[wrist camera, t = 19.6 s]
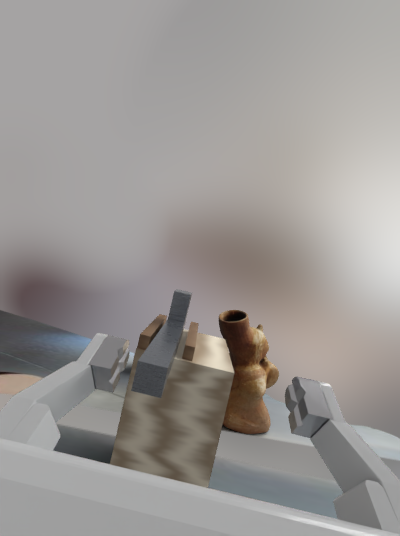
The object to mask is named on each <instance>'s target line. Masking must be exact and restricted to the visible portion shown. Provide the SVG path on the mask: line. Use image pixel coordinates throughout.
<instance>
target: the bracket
mask: <svg viewBox="0 0 400 536" xmlns="http://www.w3.org/2000/svg"><path fill="white" fill-rule="evenodd" d="M191 295H192V293H190V292H186V291H182V290H175V291H174V295H173V300H172V304H171V308H170V313H169V317H168V320H167V321H166V322H165V324H164V325H163V327H162V328H161V329H160V331H159V332H158V334H157V335H156V336H155V338H154V339H153V340H152V342H151V343H150V345H149V346H148V347H147V349H146V350H145V352H144V353H143V354H142V356H141V357H140V359H139V360H138V363H137V367H136V371H135V376H134V380H133V384H132V389H131V391H134V392H138V393H142V394H146V395H150V396H154V397H158V398H161V397H162V394H163V391H164V388H165V385H166V382H167V379H168V376H169V373H170V370H171V367H172V364H173V361H174V358H175V355H176V352H177V349H178V346H179V344H180V341H181V338H182V335H183V330H184V326H185V322H186V317H187V313H188V309H189V304H190V300H191Z"/></svg>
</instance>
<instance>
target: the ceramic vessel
mask: <svg viewBox="0 0 400 536" xmlns="http://www.w3.org/2000/svg"><path fill="white" fill-rule="evenodd" d="M219 326H220V331H221V334H222V336H223V338H224V339H225V340H226V344H227V347H228V349H229V352H230V353H229V355H230V359H231V362H232V366H233V370H234V377H233V382H232V386H231V390H230V394H229V399H228V403H227V407H226V412H225V416H224V420H223V425H224V426H226V427H227V428H229V429H232V430H234V431H237V432H240V433H245V434H256V433H264V432H267V431H268V430H269V427H270V417H269V413H268V410H267V408H266V406H265V404H264V402H263V399H262V396H263V395H264V394H265V391H266V388H269V387H271V386H272V385H274V384H275V383H276V381H277V379H278V376H279V371H278V369H277V368H276V366H275V365H273V364H272V363H271V362H269V361H268V359H267V357H266V353H267V351H268V350H269V346H268V342H267V340H266V338H265V335H264V334H263V327H262V325H258V327H257V328H253V327H250V326H249V319H248V315H247V314H246V313H245V312H243V311H239V310H230V311H225V312H222V313H221V314H220V315H219Z"/></svg>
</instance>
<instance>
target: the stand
mask: <svg viewBox="0 0 400 536" xmlns="http://www.w3.org/2000/svg"><path fill="white" fill-rule="evenodd" d="M166 318H167V316H165V315H161V314H160V315H159V316H158V317H157V318H156V319H155V320H154V321H153V322H152V323H151V324H150V325H149V326H148V327H147V328H146V329H145V330H144V331H143V332H142V333H141V334H140V338H139V342H138V346H137V349H136V352H135V356H134V360H133V365H132V369H131V373H130V378H129V382H128V387H127V391H126V395H125V400H124V404H123V409H122V413H121V417H120V422H119V426H118V431H117V435H116V439H115V444H114V448H113V452H112V457H111V461H110V464H111V465H115V466H119V467H123V468H127V469H131V470H136V471H140V472H144V473H148V474H152V475H156V476H160V477H165V478H169V479H173V480H177V481H181V482H185V483H189V484H194V485H198V486H202V487H206V488H208V485H209V480H210V476H211V472H212V468H213V463H214V459H215V455H216V450H217V446H218V442H219V437H220V433H221V429H222V425H223V420H224V416H225V412H226V407H227V403H228V399H229V394H230V390H231V386H232V382H233V377H234V370H233V366H232V362H231V359H230V355H229V351H228V347H227V344H226V340H225V339H222V338H218V337H214V336H210V335H205V334H201V333H197V330H198V323H195V322H191V325H190V328H189V330H183V335H182V338H181V341H180V344H179V346H178V349H177V352H176V355H175V358H174V361H173V364H172V367H171V370H170V373H169V376H168V379H167V382H166V385H165V388H164V391H163V394H162V397H161V398H158V397H154V396H150V395H146V394H142V393H138V392H134V391H131V389H132V384H133V380H134V376H135V371H136V367H137V363H138V360H139V359H140V357H141V356H142V354H143V353H144V352H145V350H146V349H147V347H148V346H149V345H150V343H151V342H152V340H153V339H154V338H155V336H156V335H157V334H158V332H159V331H160V329H161V328H162V327H163V325H164V324H165V322H166Z"/></svg>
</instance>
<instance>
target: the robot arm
mask: <svg viewBox="0 0 400 536" xmlns="http://www.w3.org/2000/svg"><path fill="white" fill-rule="evenodd" d="M128 345H129V340H126V339H122V338H117V337H114V336H109V335H106V334H101V333H98V334H97V335H95V336H94V338H93V339H92V340H91V342H90V343H89V345H88V346H87V347H86V349H85V350H84V352H83V353H82V354H81V356H80V357H79V359H78V360H77V361H76V362H74V361H73V362H71V363H69V364H67V365H66V366H64V367H62V368H61V369H59V370H57V371H55V372H54V373H52V374H50V375H48V376H47V377H45V378H43V379H41V380H40V381H38V382H36V383H35V384H33V385H31V386H29V387H28V388H26V389H24V390H22V391H21V392H19V393H17V394H15V395H14V396H13V397H12V398H11V399H10V400H9V402H8V403H7V404H6V405H5V406H4V407H3V408H2V410H1V411H0V536H400V480H399V479H398V478H397V477H396V476H395V475H394V474H393V472H392V471H391V470H390V469H389V468H388V467H387V466H386V464H385V463H384V462H383V461H382V460H381V459H380V458H379V457H378V456H377V454H376V453H375V452H374V451H373V450H372V449H371V448H370V447H369V445H368V444H367V443H366V442H365V441H364V440H363V439H362V438H361V436H360V435H359V434H358V433H357V432H356V431H355V430H354V429H353V427H352V426H351V425H350V424H348V423H346V422H345V420H344V417H343V415H342V412H341V410H340V407H339V405H338V402H337V400H336V397H335V395H334V392H333V390H332V387H331V386H330V385H329V384H328V383H323V382H318V381H315V380H311V379H306V378H300V377H294V378H293V380H292V383H293V384H292V385H289V386H288V387H287V389H286V393H285V402H286V407H287V408H288V410H289V411H290V412H291V413H290V415H289V417H288V418H289V423H290V428H291V433H292V434H296V435H300V436H304V437H308V438H311V439H310V440H311V441H312V443H313V445H314V446H315V448H316V449H317V451H318V452H319V454H320V456H321V457H322V459H323V460H324V462H325V464H326V465H327V467H328V469H329V470H330V472H331V473H332V475H333V476H334V478H335V480H336V481H337V483H338V485H339V486H340V488H341V489H342V491H343V494H342V495H340V496H338V497H337V498H335V500H334V501H333V503H334V506H335V510H336V514H337V518H338V519H334V518H330V517H326V516H322V515H318V514H314V513H310V512H305V511H301V510H297V509H293V508H289V507H285V506H281V505H276V504H272V503H268V502H264V501H260V500H256V499H252V498H247V497H243V496H239V495H235V494H231V493H227V492H223V491H218V490H214V489H210V488H206V487H202V486H198V485H194V484H189V483H185V482H181V481H177V480H173V479H169V478H165V477H160V476H156V475H152V474H148V473H144V472H140V471H136V470H131V469H127V468H123V467H119V466H115V465H111V464H107V463H102V462H98V461H94V460H90V459H86V458H82V457H78V456H73V455H69V454H65V453H61V452H57V451H53V449H54V447H55V445H56V444H57V442H58V440H59V438H60V432H59V430H58V427H57V425H56V422H57V421H58V420H59V419H61V418H62V417H63V416H64V415H66V414H67V413H68V412H69V411H70V410H72V409H73V408H74V407H75V406H77V405H78V404H79V403H80V402H81V401H83V400H84V399H85V398H86V397H87V396H89V395H90V394H91V393H92V392H93V391H95V389H99V390H104V391H109V392H114V390H115V388H116V386H117V383H118V381H119V379H120V372H122V371H123V370H124V369H125V367H126V365H127V361H128V358H129V350H128Z"/></svg>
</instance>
